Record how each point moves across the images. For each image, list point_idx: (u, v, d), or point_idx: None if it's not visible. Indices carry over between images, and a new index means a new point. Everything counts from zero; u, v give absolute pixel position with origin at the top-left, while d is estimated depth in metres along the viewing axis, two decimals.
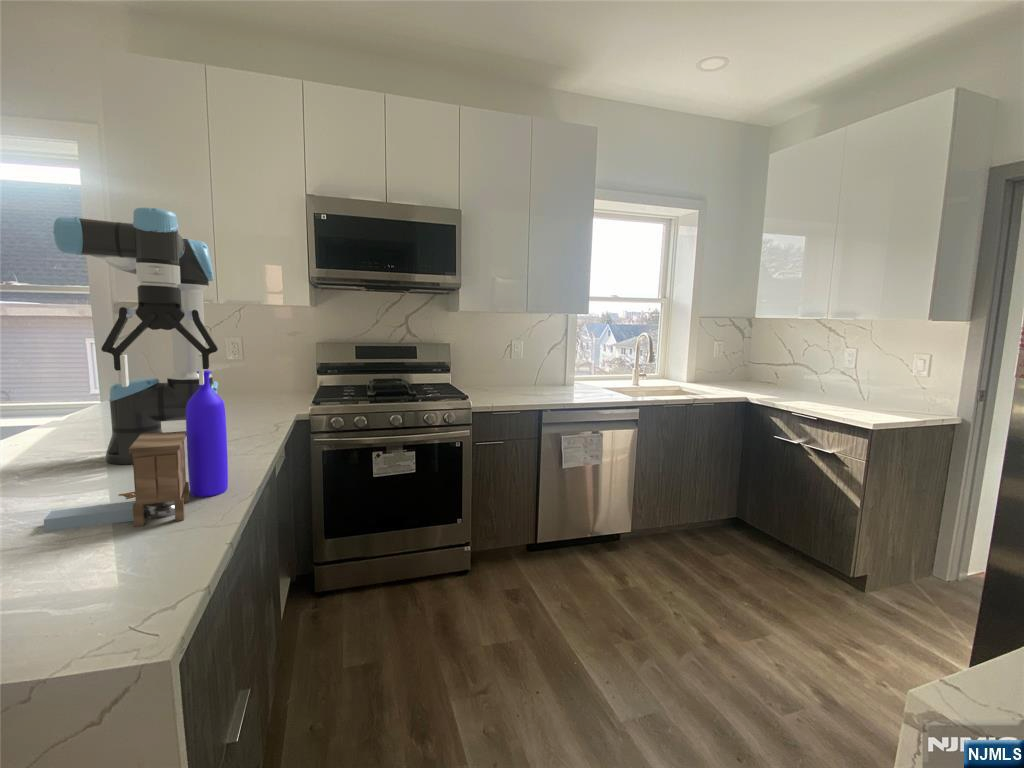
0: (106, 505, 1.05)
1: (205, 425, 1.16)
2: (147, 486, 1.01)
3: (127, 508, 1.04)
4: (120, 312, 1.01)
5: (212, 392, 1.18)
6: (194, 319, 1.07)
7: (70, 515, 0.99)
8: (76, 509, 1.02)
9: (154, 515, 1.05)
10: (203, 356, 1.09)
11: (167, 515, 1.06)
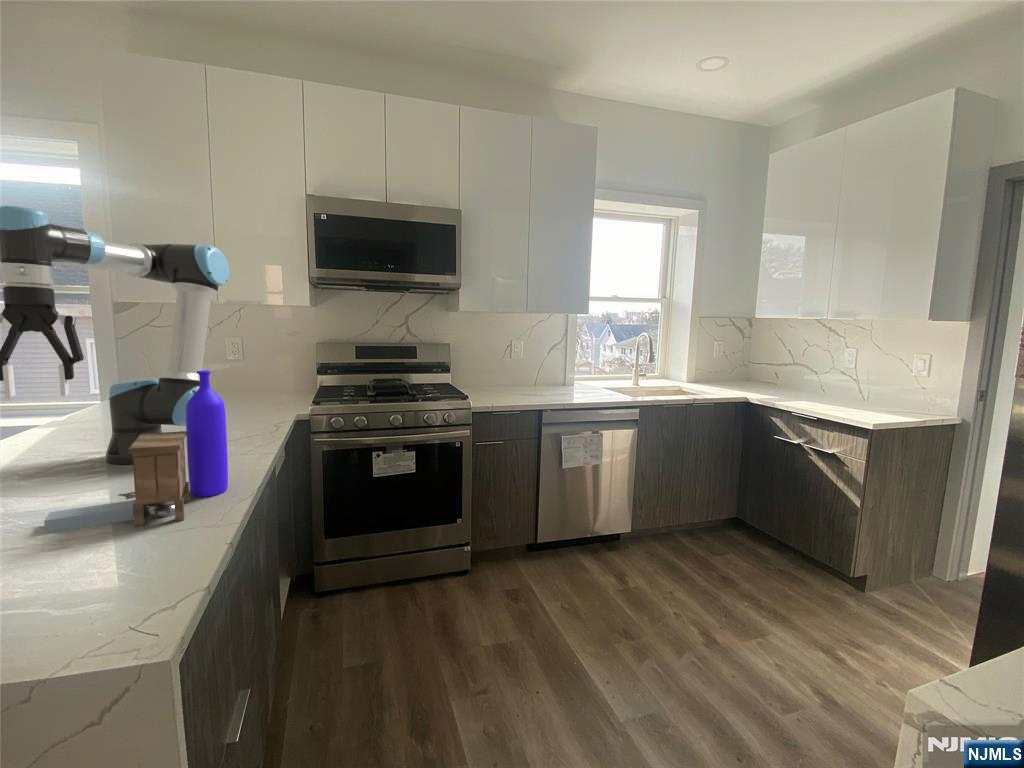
0: (106, 505, 1.05)
1: (205, 425, 1.16)
2: (147, 486, 1.01)
3: (128, 507, 1.04)
4: None
5: (212, 392, 1.18)
6: (65, 324, 1.04)
7: (71, 516, 0.99)
8: (75, 510, 1.02)
9: (154, 515, 1.05)
10: (65, 366, 1.05)
11: (167, 515, 1.06)
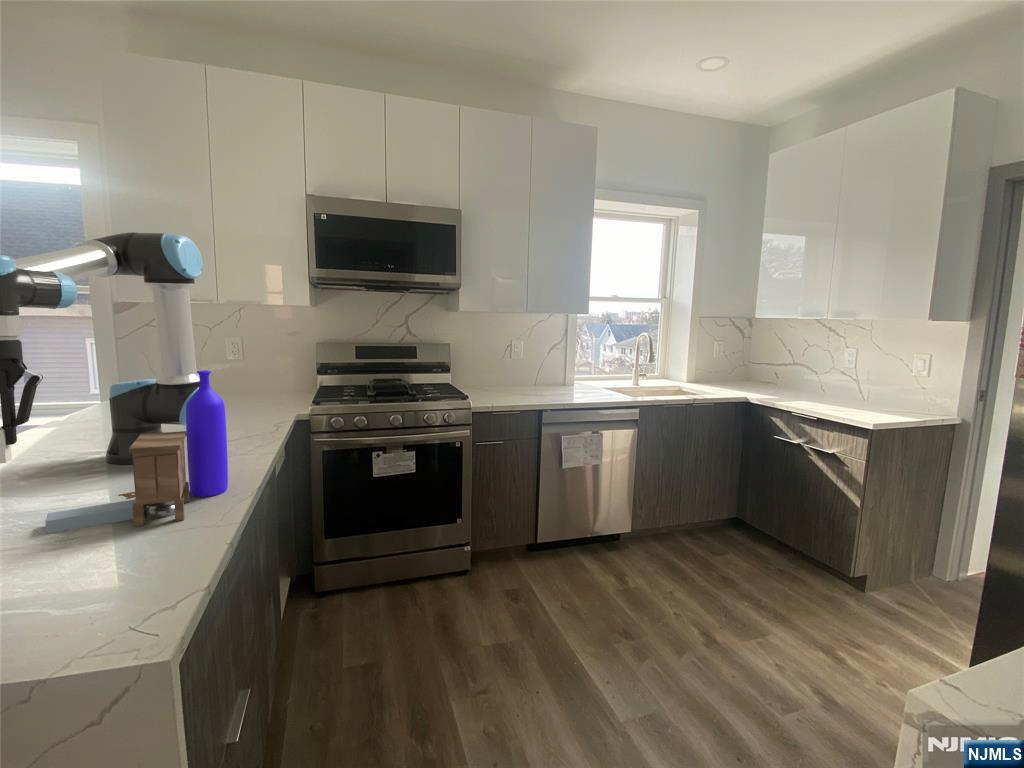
0: (105, 505, 1.05)
1: (205, 425, 1.16)
2: (147, 486, 1.01)
3: (129, 506, 1.05)
4: None
5: (212, 392, 1.18)
6: (27, 384, 0.94)
7: (72, 516, 0.99)
8: (74, 510, 1.02)
9: (154, 515, 1.05)
10: (6, 430, 0.94)
11: (167, 515, 1.06)
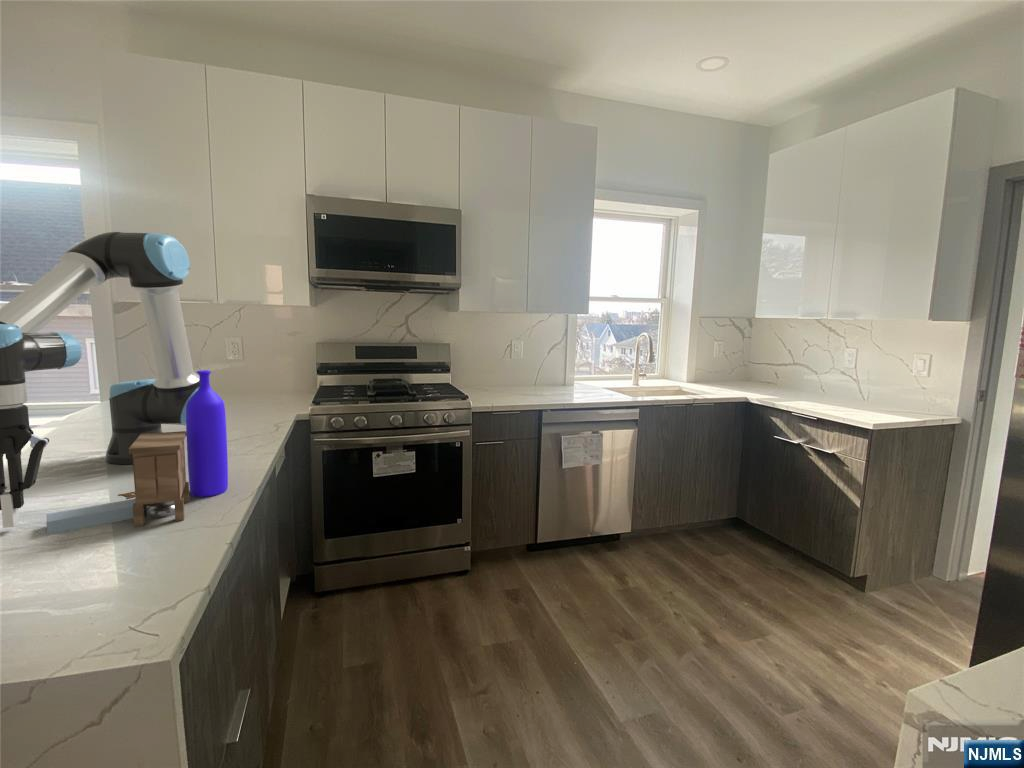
0: (104, 505, 1.05)
1: (205, 425, 1.16)
2: (147, 486, 1.01)
3: (130, 506, 1.05)
4: None
5: (212, 392, 1.18)
6: (34, 449, 0.96)
7: (72, 516, 0.99)
8: (74, 511, 1.01)
9: (154, 515, 1.05)
10: None
11: (167, 515, 1.06)
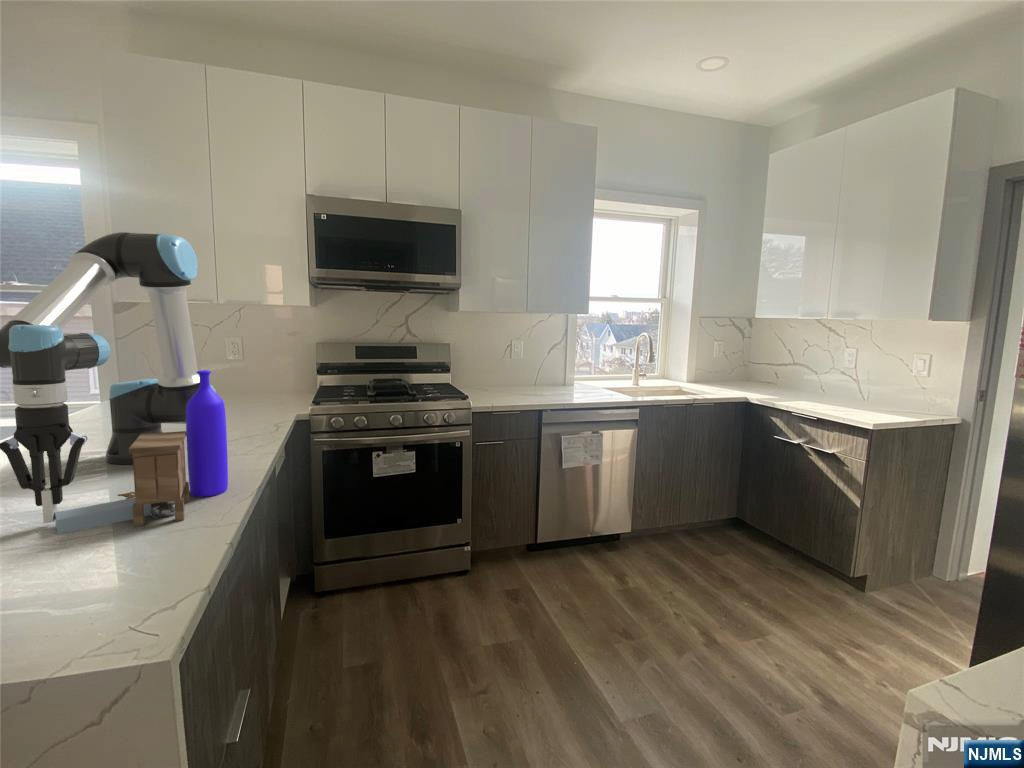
0: (112, 503, 1.05)
1: (205, 425, 1.16)
2: (147, 486, 1.01)
3: None
4: (2, 449, 0.94)
5: (212, 392, 1.18)
6: (73, 446, 0.99)
7: (82, 514, 0.99)
8: (82, 508, 1.02)
9: (160, 514, 1.06)
10: None
11: (173, 513, 1.07)
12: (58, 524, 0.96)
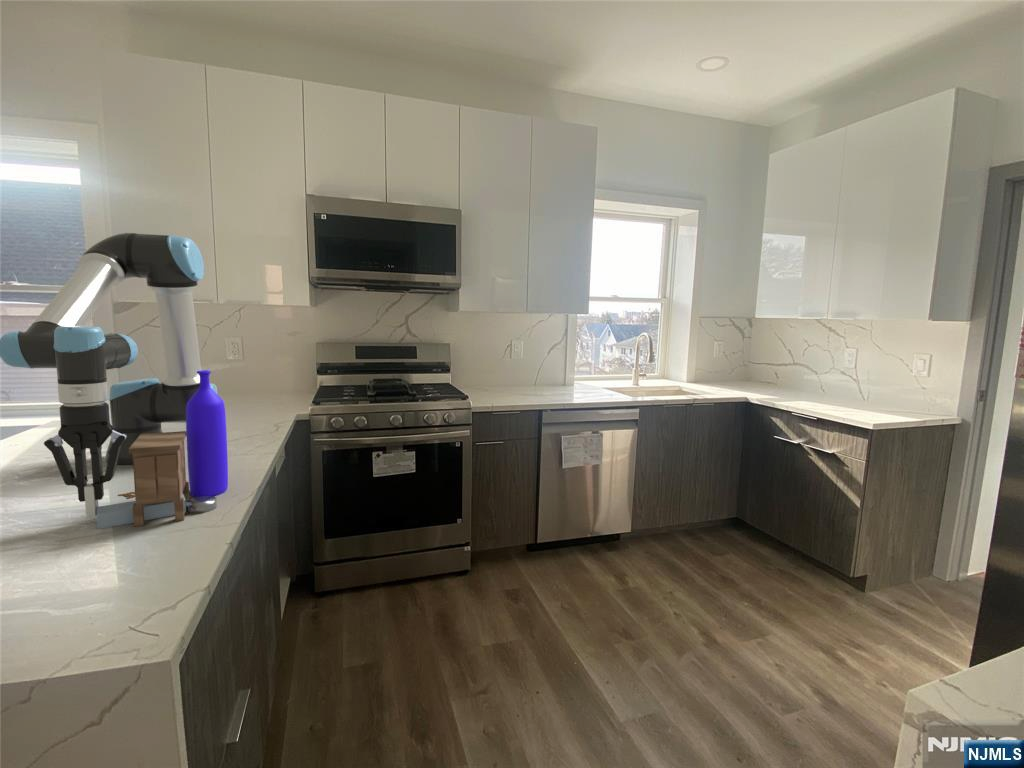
0: None
1: (205, 425, 1.16)
2: (147, 486, 1.01)
3: None
4: (48, 446, 0.97)
5: (212, 392, 1.18)
6: (114, 444, 1.02)
7: (121, 510, 1.02)
8: (122, 504, 1.04)
9: (198, 510, 1.09)
10: None
11: (210, 509, 1.10)
12: (98, 519, 0.99)
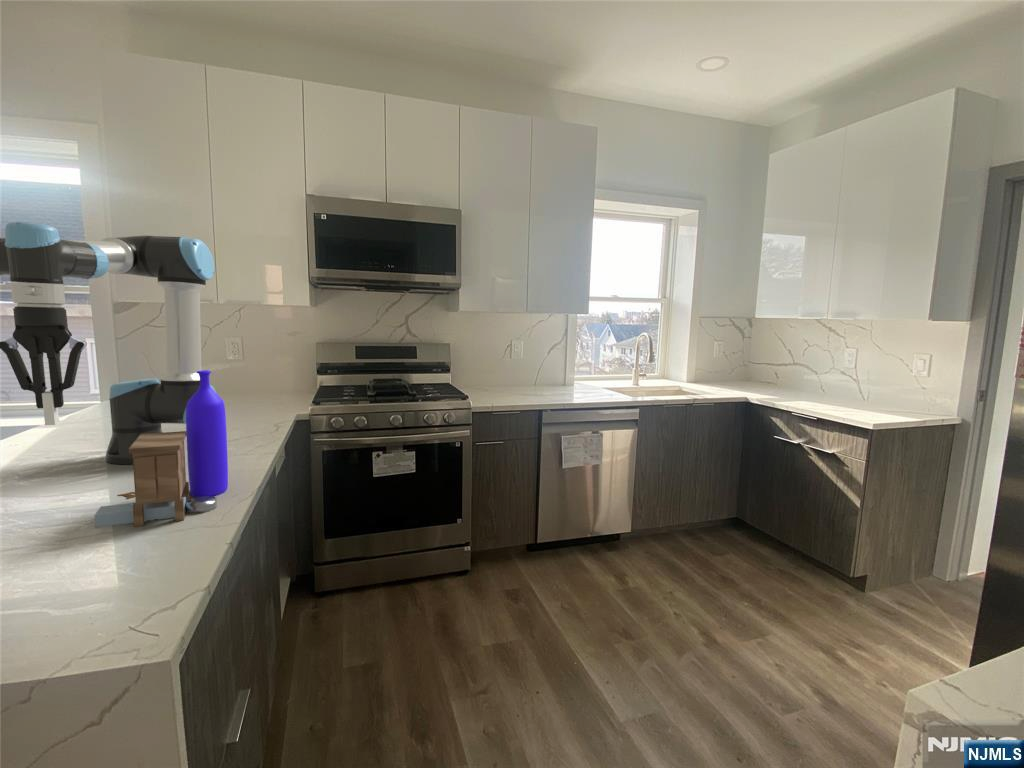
0: None
1: (205, 425, 1.16)
2: (147, 486, 1.01)
3: (172, 505, 1.06)
4: (2, 348, 0.94)
5: (212, 392, 1.18)
6: (73, 350, 0.99)
7: (119, 511, 1.02)
8: (124, 505, 1.05)
9: (198, 510, 1.09)
10: (54, 393, 0.99)
11: (210, 509, 1.10)
12: (96, 519, 1.00)
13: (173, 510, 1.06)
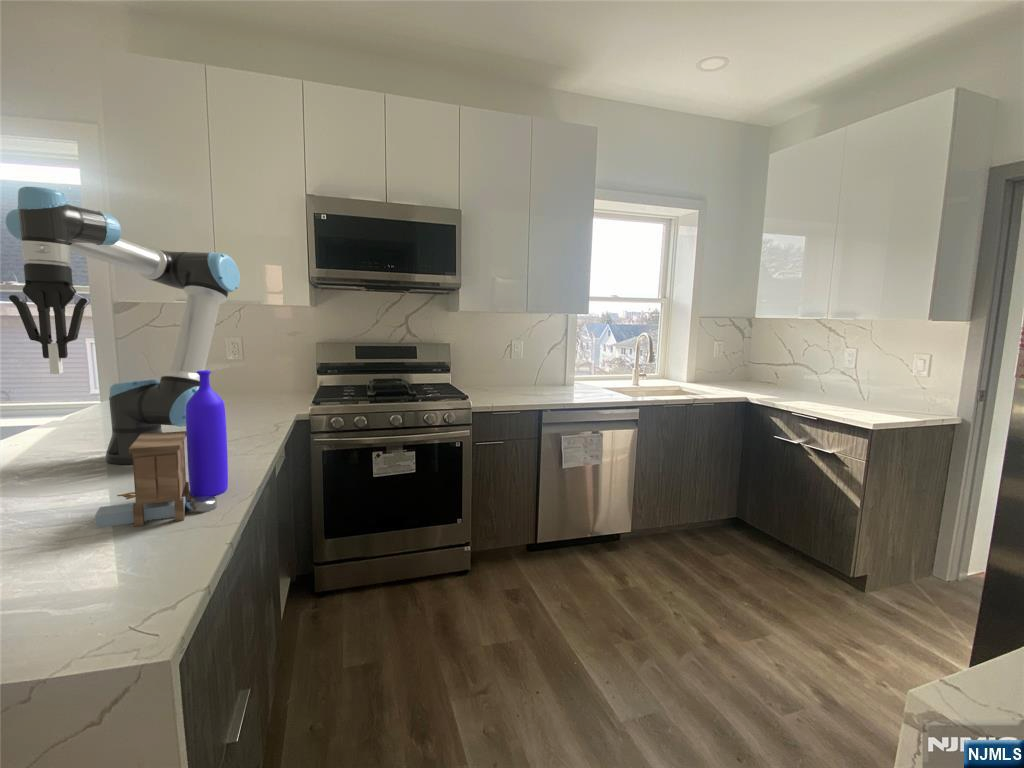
0: None
1: (205, 425, 1.16)
2: (147, 486, 1.01)
3: (173, 504, 1.07)
4: (13, 301, 1.03)
5: (212, 392, 1.18)
6: (77, 305, 1.08)
7: (119, 511, 1.02)
8: (123, 505, 1.05)
9: (198, 510, 1.09)
10: (59, 345, 1.08)
11: (210, 509, 1.10)
12: (96, 520, 1.00)
13: (174, 509, 1.06)
